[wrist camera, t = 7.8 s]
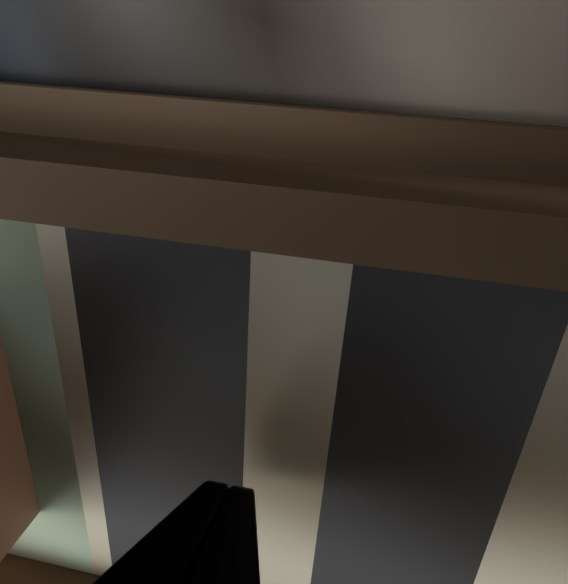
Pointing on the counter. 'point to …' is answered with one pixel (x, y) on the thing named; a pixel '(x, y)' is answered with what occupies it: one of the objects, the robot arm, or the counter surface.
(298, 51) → the counter surface
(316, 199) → the trap lane
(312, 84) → the counter surface
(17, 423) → the terracotta block
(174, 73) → the counter surface
